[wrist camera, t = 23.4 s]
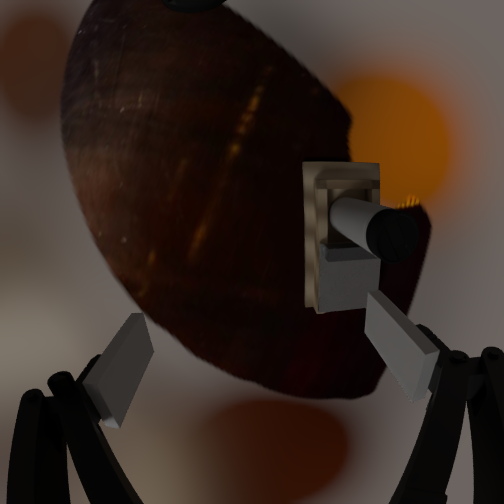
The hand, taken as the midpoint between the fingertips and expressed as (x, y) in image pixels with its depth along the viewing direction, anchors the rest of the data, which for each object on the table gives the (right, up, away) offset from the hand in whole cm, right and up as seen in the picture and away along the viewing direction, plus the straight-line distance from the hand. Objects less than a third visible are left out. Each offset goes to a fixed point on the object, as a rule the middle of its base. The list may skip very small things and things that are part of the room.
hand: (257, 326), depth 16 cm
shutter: (+16, 0, +32) cm, 35 cm away
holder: (+16, +7, +34) cm, 38 cm away
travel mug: (+16, +11, +32) cm, 37 cm away
